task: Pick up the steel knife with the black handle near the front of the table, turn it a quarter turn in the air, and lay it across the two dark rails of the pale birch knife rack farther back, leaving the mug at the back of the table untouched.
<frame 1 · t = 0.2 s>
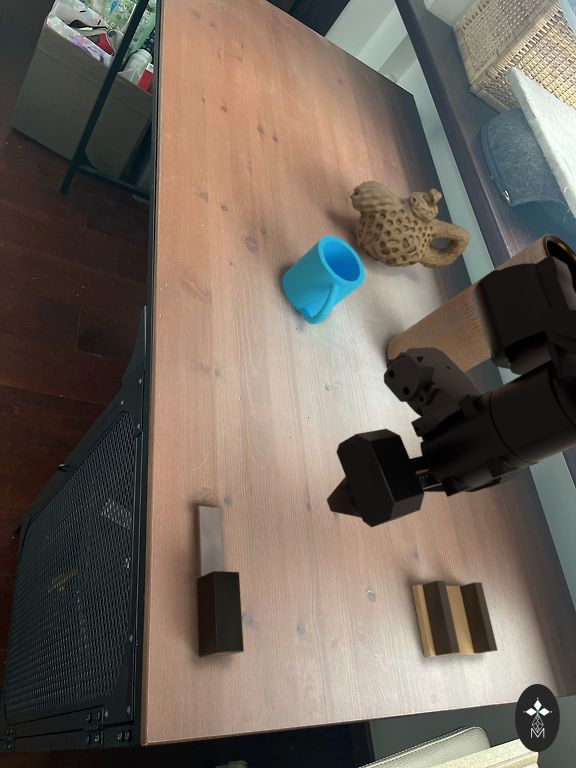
hand: (366, 494, 54), 17 cm above the table, tool pointing down, fingers open, 9 cm apart
teapot: (373, 252, 105), on the table
mug: (303, 303, 87), on the table
knife: (209, 578, 60), on the table
rack: (445, 620, 76), on the table
vase: (408, 367, 96), on the table
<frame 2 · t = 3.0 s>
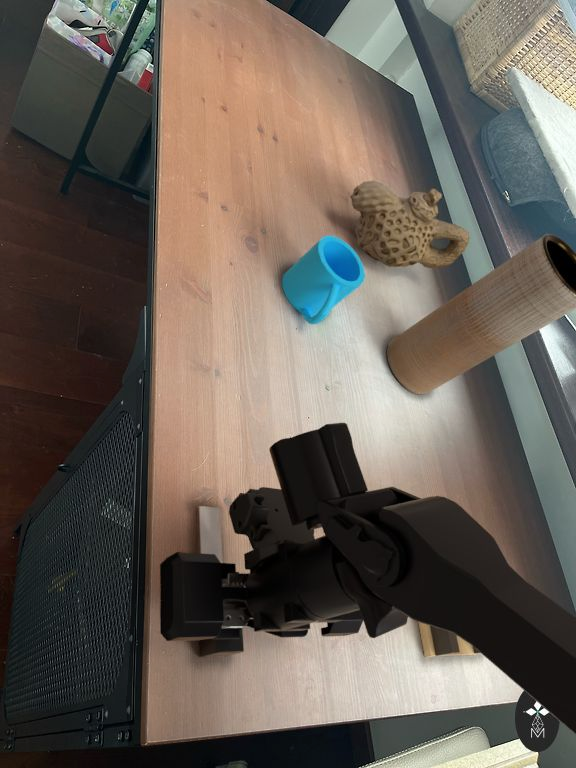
hand: (217, 614, 57), 1 cm above the table, tool pointing down, fingers closed on knife, 3 cm apart
knife: (209, 578, 60), on the table, touching gripper
everything else where it was.
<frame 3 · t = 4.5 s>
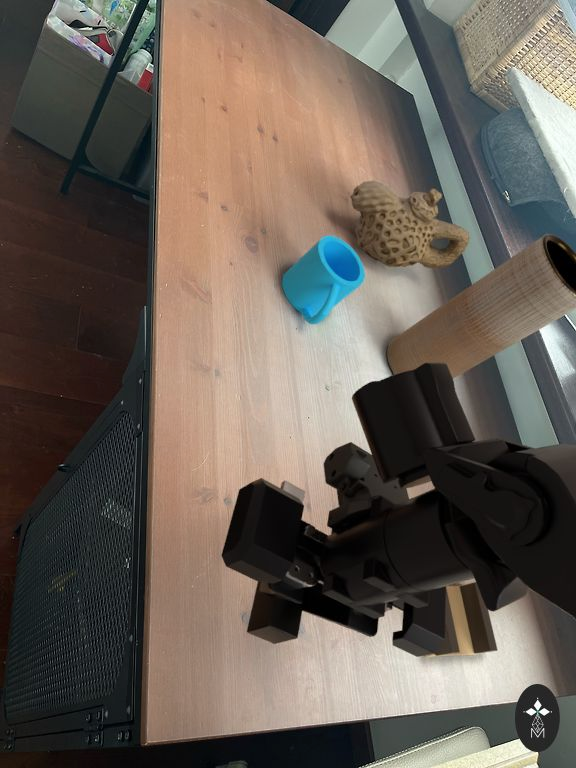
hand: (277, 593, 51), 11 cm above the table, tool pointing down, fingers closed on knife, 3 cm apart
knife: (277, 556, 54), point 10 cm above the table, touching gripper
everything else where it was.
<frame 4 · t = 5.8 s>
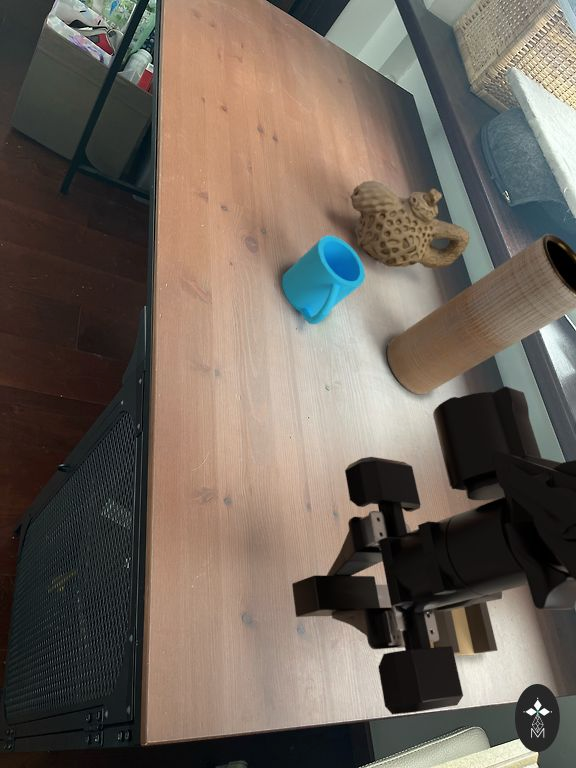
hand: (333, 597, 54), 11 cm above the table, tool pointing down, fingers closed on knife, 3 cm apart
knife: (354, 599, 57), point 10 cm above the table, touching gripper
everything else where it was.
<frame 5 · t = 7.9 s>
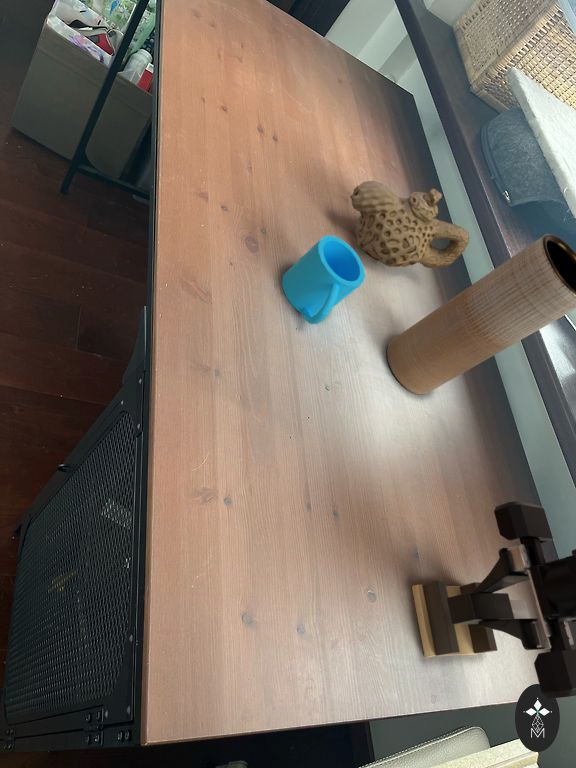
hand: (477, 609, 69), 8 cm above the table, tool pointing down, fingers closed on knife, 3 cm apart
knife: (488, 611, 72), point 7 cm above the table, touching gripper
everything else where it was.
when the fingers open (5 cm above the table, at t = 9.0 s): knife stays where it is, resting on rack.
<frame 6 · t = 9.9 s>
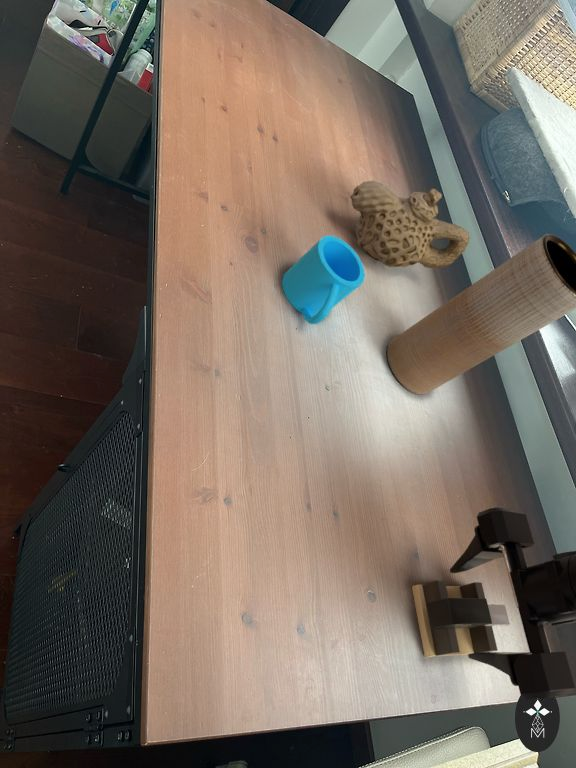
hand: (461, 612, 71), 5 cm above the table, tool pointing down, fingers open, 9 cm apart
knife: (468, 615, 74), point 3 cm above the table, touching rack
everything else where it was.
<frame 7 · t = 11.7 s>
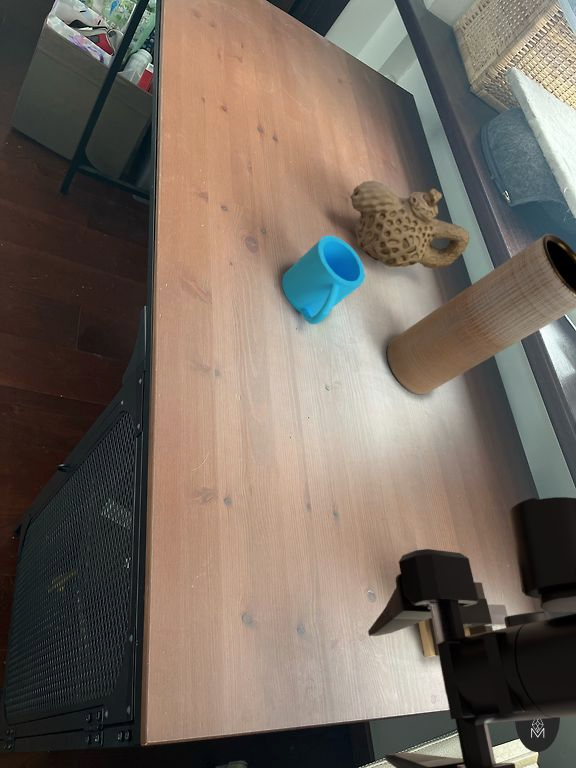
hand: (380, 692, 51), 12 cm above the table, tool pointing down, fingers open, 9 cm apart
nothing on the table moved.
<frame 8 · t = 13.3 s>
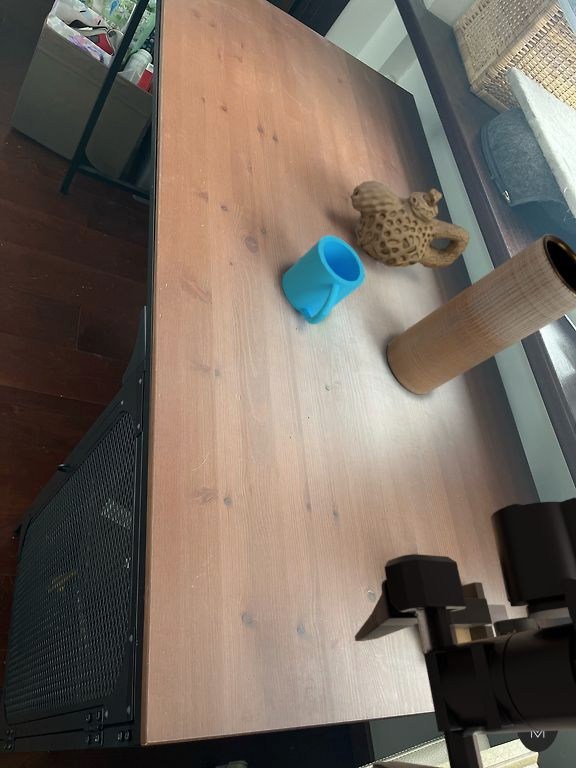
hand: (367, 699, 50), 12 cm above the table, tool pointing down, fingers open, 9 cm apart
nothing on the table moved.
at the end: knife 0.0 cm off-centre on the rack, point 3.5 cm above the rack's base; knife tilted 0°; mug moved 0.2 cm from its start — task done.
